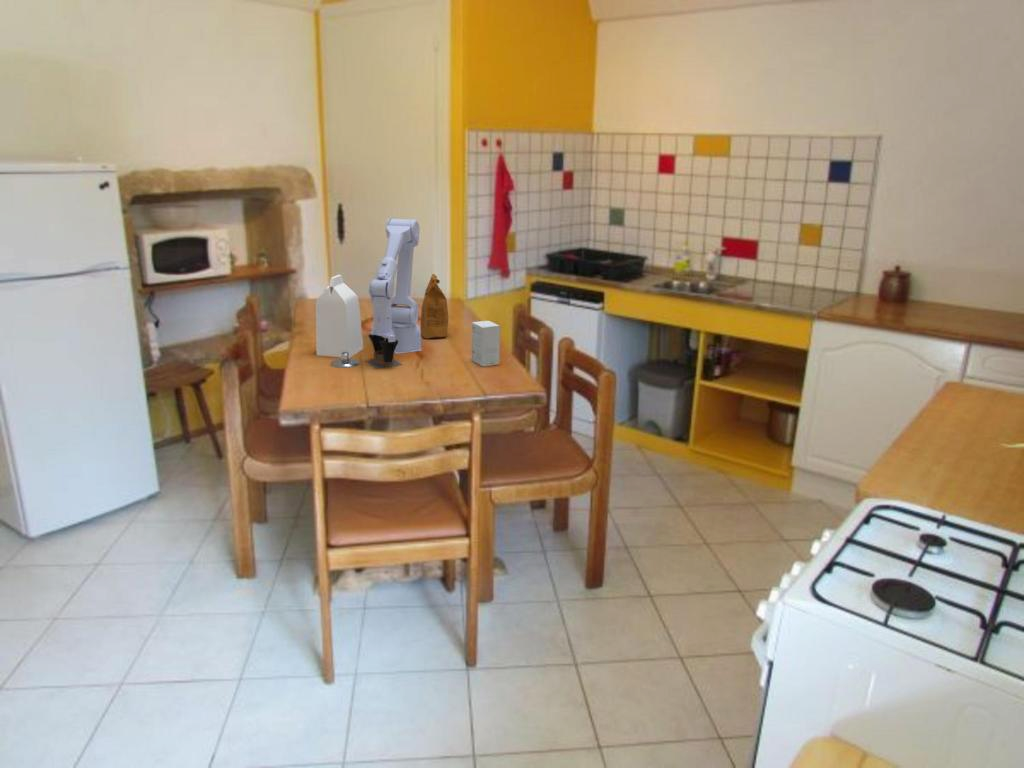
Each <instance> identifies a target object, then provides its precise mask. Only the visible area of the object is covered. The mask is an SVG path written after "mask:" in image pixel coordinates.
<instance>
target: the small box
mask: <svg viewBox="0 0 1024 768" xmlns="http://www.w3.org/2000/svg"><path fill="white" fill-rule="evenodd" d="M500 333H501V325H499V324H496V323H495V322H493V321H491V320H481V321H472V322H471V361H472V362H474V363H476V364H477V365H479V366H481V367H490V366H496V365H497V366H498V365H500V360H501V358H500V356H501V355H500V354H501V353H500V347H501V345H500V341H501V335H500Z"/></svg>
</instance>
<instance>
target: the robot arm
mask: <svg viewBox="0 0 1024 768" xmlns="http://www.w3.org/2000/svg"><path fill="white" fill-rule="evenodd" d="M385 223H386V224H385V234H386V237H387V244H386V249H385V254H384V258H381V259H380V261H379V264H378V265H377V266H378V267H377V270H376V273H375V277H374V279H372V280H371V281H370V282H369V286H368V293H369V296H370V302H371V304H372V315H373V316H372V319H373V321H372V322H373V325H371V326H370V329H371V331H370V332H369V334H368V338H369V339H370V341H371V344H372V347H373V351H374V352H376V351H378V350H383V354H384V360H385V362H392V359H393V354H394V353H395V354H397V355H398V354H404V353H405V354H406V353H412V352H418V351H419V352H420V351H423V349H422V333H421V326H420V325H418V324H417V322H418V320H419V309H418V307H419V306H418V302H416V300H414V298H413V297H411V289H412V274H413V264H414V263H413V261H414V260H413V259H414V250H415V247H417V246H418V245H419V242H420V224H419V222H418V220H417V219H415V218H413V219H407V218H406V219H405V218H403V219H402V218H392V217H391V218H390V217H388V219H387V221H386V222H385ZM396 261H397V262H396ZM395 277H396V284H395ZM394 294H395V295H394Z"/></svg>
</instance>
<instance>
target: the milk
mask: <svg viewBox="0 0 1024 768" xmlns="http://www.w3.org/2000/svg"><path fill="white" fill-rule="evenodd" d="M360 309H361V308H360V300H359V297H358V295H357V294H356V293H355V291H354V290H352V289H351V288H350V287H349V286H348V285H347V284H346V283H345V282H344V278H343V275H342V274H337V275H333V276H332V277H330V280H329V285H328V286H326V288H324V290H323V292H322V294H321V295H320V296H318V297H317V299H316V300H315V336H316V337H315V339H316V342H315V343H316V347H315V348H316V351H315V352H316V356H319V357H321V356H323V357H333V358H335V357H336V358H341V353H342V352H348V353H349V359H351V357H353V356H354V355H356V354H357V353H359V352H360V351H362V350H363V349H364V343H363V341H364V339H363V330H362V320H361V310H360Z"/></svg>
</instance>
